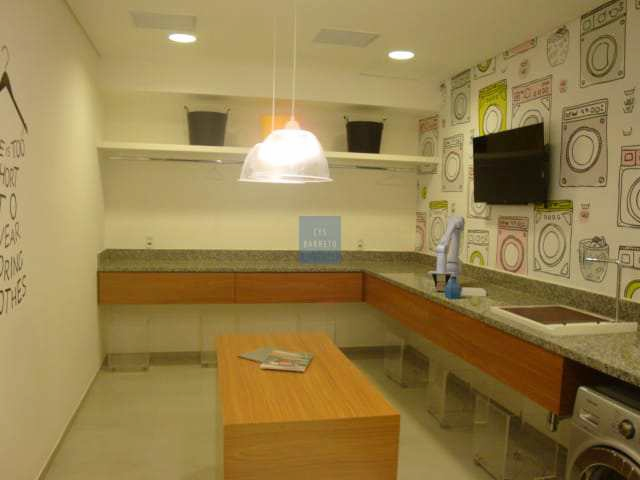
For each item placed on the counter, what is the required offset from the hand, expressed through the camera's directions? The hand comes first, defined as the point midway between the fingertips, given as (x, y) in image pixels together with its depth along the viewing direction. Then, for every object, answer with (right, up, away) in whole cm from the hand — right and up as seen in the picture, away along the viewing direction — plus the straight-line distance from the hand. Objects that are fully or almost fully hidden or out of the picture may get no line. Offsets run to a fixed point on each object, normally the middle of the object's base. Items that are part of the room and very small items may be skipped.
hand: (440, 287), depth 306 cm
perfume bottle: (+2, -5, -18) cm, 19 cm away
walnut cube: (0, -2, 0) cm, 2 cm away
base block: (+19, -4, -2) cm, 19 cm away
